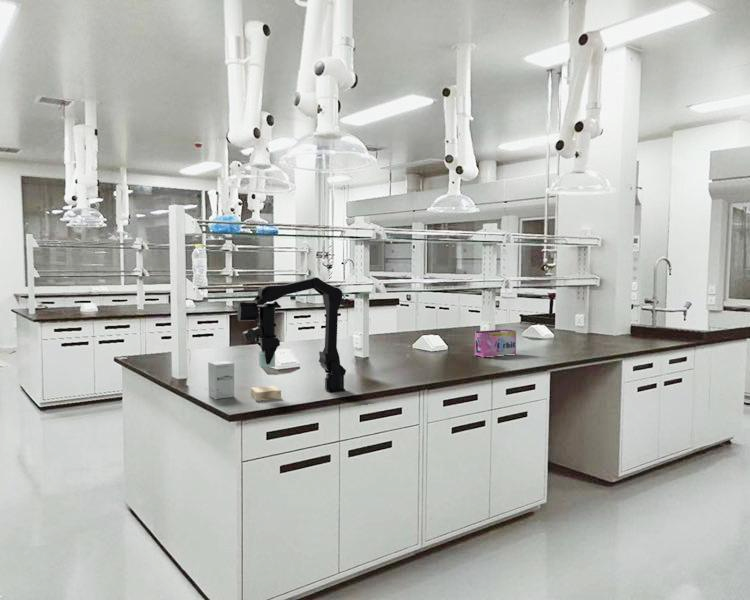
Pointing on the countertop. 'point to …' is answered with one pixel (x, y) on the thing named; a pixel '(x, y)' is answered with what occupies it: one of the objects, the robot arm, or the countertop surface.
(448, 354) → the countertop surface
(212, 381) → the supplement box
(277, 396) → the beech block
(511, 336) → the gum box
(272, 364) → the teal cube
